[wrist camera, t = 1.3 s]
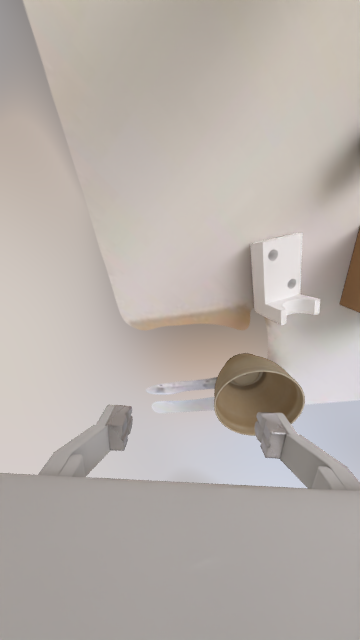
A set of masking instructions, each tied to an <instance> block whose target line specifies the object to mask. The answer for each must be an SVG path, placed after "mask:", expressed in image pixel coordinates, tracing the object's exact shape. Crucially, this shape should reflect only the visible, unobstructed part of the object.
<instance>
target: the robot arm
mask: <svg viewBox="0 0 360 640" xmlns="http://www.w3.org/2000/svg"><path fill="white" fill-rule="evenodd" d="M131 413H132V407H131V406H122V405H108V406H107V407H106V408H105V410H104V412H103V414H102V416H101V417H100V419H99V421H98V422H97V424H96V425H93V426H92V427H90V428H89V429H87V430H86V431H84V432H83V433H81V434H80V435H79V436H77V437H76V438H74V439H73V440H71V441H70V442H69V443H67V444H66V445H64V446H63V447H61V448H60V449H58V450H57V451H56V452H54V453H53V455H52V456H51V458H50V459H49V460H48V462H47V463H46V464H45V466H44V467H43V469H42V470H41V471H40V473H39V474H38V475H30V474H28V475H27V474H9V473H0V640H360V482H359V481H358V480H357V479H356V477H355V476H354V475H353V474H352V472H351V471H350V470H349V469H348V468H347V467H346V466H345V465H343V464H342V463H340V462H339V461H338V460H336V459H334V458H333V457H332V456H330V455H329V454H327V453H326V452H325V451H323V450H322V449H320V448H319V447H317V446H316V445H314V444H313V443H312V442H310V441H309V440H307V439H306V438H304V437H303V436H301V435H298V434H297V432H296V431H295V430H294V428H293V427H292V425H291V424H290V422H289V421H288V420H287V418H286V417H285V415H284V414H283V413H269V412H258V413H257V416H256V417H257V420H258V421H257V422H255V434H256V437H257V439H258V440H259V441H260V442H261V449H262V451H263V453H264V455H265V457H266V458H278V459H280V460H281V461H282V462H283V463H284V464H285V465H286V466H287V467H288V468H289V469H290V470H291V471H292V472H293V473H294V474H295V475H296V476H297V477H298V478H299V479H300V480H301V482H302V483H303V484H304V485H305V486H306V487H308V489H306V488H288V487H268V486H267V487H266V486H248V485H228V484H209V483H189V482H168V481H149V480H129V479H110V478H90V477H86V476H87V475H88V474H89V472H90V471H91V470H92V469H93V468H94V467H95V466H96V465H97V464H98V463H99V462H100V461H101V460H102V459H103V458H104V457H105V456H106V454H108V453H109V451H110V450H119V451H121V450H122V451H123V450H124V449H125V447H126V444H127V441H128V439H127V438H128V435H129V434H130V431H131V428H132V416H131Z"/></svg>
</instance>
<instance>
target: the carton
mask: <svg viewBox="0 0 360 640" xmlns="http://www.w3.org/2000/svg"><path fill="white" fill-rule="evenodd" d="M340 305H342V306H345V307H347V308H349V309H352V310H354V311H357V312H359V313H360V228H359V232H358V236H357V240H356V244H355V247H354V251H353V255H352V259H351V263H350V266H349V270H348V274H347V278H346V282H345V285H344V289H343V293H342V297H341V301H340Z"/></svg>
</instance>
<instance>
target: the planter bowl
mask: <svg viewBox="0 0 360 640" xmlns="http://www.w3.org/2000/svg"><path fill="white" fill-rule="evenodd" d="M245 374H246V375H245ZM214 394H215V399H214V409H215V413H216V415H217V418H218V419H219V421H220V422H221V423H222V424H223V425H224V426H225V427H227V428H228V429H230V430H232V431H234V432H237V433H240V434H244V435H254V436H256V434H255V422H257V421H258V420H257V417H256V416H257V413H258V412H269V413H283V414H284V415H285V417H286V418H287V420H288V421H289V422H290V424H292V423H293V422H294V421H295V420H296V419H297V418H298V417H299V415H300V414H301V412H302V410H303V407H304V403H305V396H304V393H303V390H302V388H301V387H300V385H299V384H298V383H297V382H296V381H295V380H294V379H293V378H292V377H291V376H290V375H289V374H288V373H287V372H286V371H285V370H284V369H283V368H281V367H280V366H279V365H277V364H276V363H274V362H272V361H270V360H268V359H266V358H263V357H259V356H255V355H253V354H246V353H244V354H238V355H235V356H233V357H232V358H230V359H229V360H228V361H227V362H226V364H225V366H224V367H223V368H222V370H221V371H220V373H219V375H218V378H217V381H216V384H215V393H214Z"/></svg>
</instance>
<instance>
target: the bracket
mask: <svg viewBox="0 0 360 640" xmlns="http://www.w3.org/2000/svg"><path fill="white" fill-rule="evenodd" d="M302 238H303V232H302V233H294V234H289V235H285V236H281V237H276V238H272V239H267V240H263V241H258V242H254V243H250V247H251V263H252V279H253V294H254V310H255V312H257V313H258V314H260V315H262V316H264V317H266V318H268V319H270V320H272V321H274V322H276V323H278V324H280V325H283V324H286V315H289V314H293V313H307V314H312V315H316V314H319V309H320V299H318V298H314V297H310V296H306V295H302V294H300V290H301V264H302Z"/></svg>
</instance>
